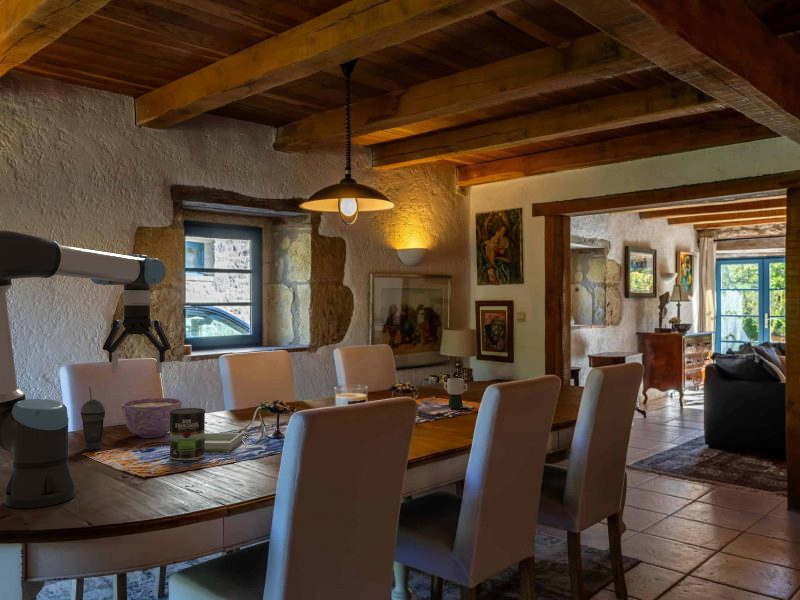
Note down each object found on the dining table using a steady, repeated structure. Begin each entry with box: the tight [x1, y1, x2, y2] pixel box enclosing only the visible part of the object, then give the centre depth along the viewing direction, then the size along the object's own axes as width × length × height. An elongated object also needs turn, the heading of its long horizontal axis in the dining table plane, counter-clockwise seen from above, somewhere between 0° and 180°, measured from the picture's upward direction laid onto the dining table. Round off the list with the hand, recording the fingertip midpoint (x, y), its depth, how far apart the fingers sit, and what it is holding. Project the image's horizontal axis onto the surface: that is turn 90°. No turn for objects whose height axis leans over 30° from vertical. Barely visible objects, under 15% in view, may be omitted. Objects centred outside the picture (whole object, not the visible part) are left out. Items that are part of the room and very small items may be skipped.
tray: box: [205, 432, 243, 453], centre depth 213 cm, size 14×14×3 cm
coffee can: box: [169, 407, 206, 461], centre depth 199 cm, size 10×10×14 cm
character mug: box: [443, 377, 468, 410], centre depth 283 cm, size 11×7×13 cm, turn 65°
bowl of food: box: [120, 397, 183, 439], centre depth 230 cm, size 20×20×12 cm
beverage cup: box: [80, 385, 106, 451], centre depth 210 cm, size 7×7×20 cm
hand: (137, 373), depth 203 cm, fingers open, 13 cm apart
